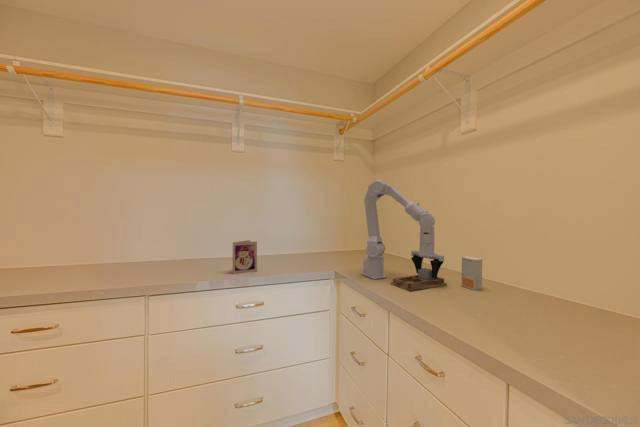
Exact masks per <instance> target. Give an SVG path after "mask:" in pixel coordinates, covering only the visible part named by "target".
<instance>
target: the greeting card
mask: <svg viewBox="0 0 640 427" xmlns="http://www.w3.org/2000/svg"><path fill="white" fill-rule="evenodd" d="M249 272H250V273H257V272H258V240H256V241H251V240H250V239H247V240H242V241H241V240H240V241H235V242H232V275H236V274H237V275H238V274H239V273H240V274H246V273H248V274H249ZM240 274H239V275H240Z"/></svg>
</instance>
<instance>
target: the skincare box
mask: <svg viewBox="0 0 640 427" xmlns="http://www.w3.org/2000/svg"><path fill="white" fill-rule="evenodd" d="M460 284H461V287H464V288H467V289H470V290H472V291H478V290H482V289H483V288H482V287H483V286H482V285H483V258H479V257H474V256H469V255H468V256H462V257H461V283H460Z"/></svg>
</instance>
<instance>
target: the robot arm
mask: <svg viewBox="0 0 640 427" xmlns="http://www.w3.org/2000/svg"><path fill="white" fill-rule="evenodd" d="M367 188H368V189H367V191H366V193H365V197H364V199H363V200H364V206H365V208H364V209H365V217H366V218H365V219H366V227H367V232H368V235H367V236H368V238H367V242H366V244H367V246H366V249H365V250H366V251H365V252H366V256H365V257H364V259H363V264H362V266H363V267H362V268H363V272H362V273H361V275H363V276H365V277H367V278H371V279H373V280H378V279H385V278H388V275H385V274H384V272H385V269H384V264H385V260H384V258H385V256H384V255H383V254H384V253H385V251H386V247H385V246H386V245H385V244H384V243H383V239H382V237H381V235H380V234H381V232H380V226H379V217H378V209H377V208H378V207H377V202H378V201H379V199H380V198H382V197H383V196H389V197H391V198H393V199H394V200H395V201H396V202H398V203H399V204H400V205H402V207H404V211H405V213H406V214H407V215H408V216H410V217H411V218H412V219H413V220H415V221H416V222H418V225H419V227H420V228H419V229H420V230H419V231H420V232H419V251H418V250H411V251H410V252H411V253H410V255H411V257H410V258H411V260H412V263H413V265H414V268H415V271H416V274H417V275H418V269H423V260H424V259H430V262H429V263H430V266H431V270H432V278H436V277H438V273H439V272H440V269H441V267H442V266H443V264H444V261H445V255H441V254H438V253H437V254H436V253H435V236H436V234H435V226H434V225H435V224H436V219H435V217H434V216H433V214H431V213H430V212H429V211H428V210H425V209H424V208H423V207H422V206H421V203H419V202H416V201H410V200H408V198H406V197H405V196H404V195H403V194H402V193H401V192H400V191H398V189H396V188H395V187H393V186H392V185H391V184H388V183H387V181H383V180H381V179H374V180H373V181H371V183H369V185H368V187H367Z"/></svg>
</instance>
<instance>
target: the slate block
mask: <svg viewBox="0 0 640 427" xmlns="http://www.w3.org/2000/svg"><path fill="white" fill-rule="evenodd" d="M417 275H418V278H419V279H423V280H426V281H427V280H434V278H432V268H426V267H424V268H423V267H422V269H418V274H417Z"/></svg>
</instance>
